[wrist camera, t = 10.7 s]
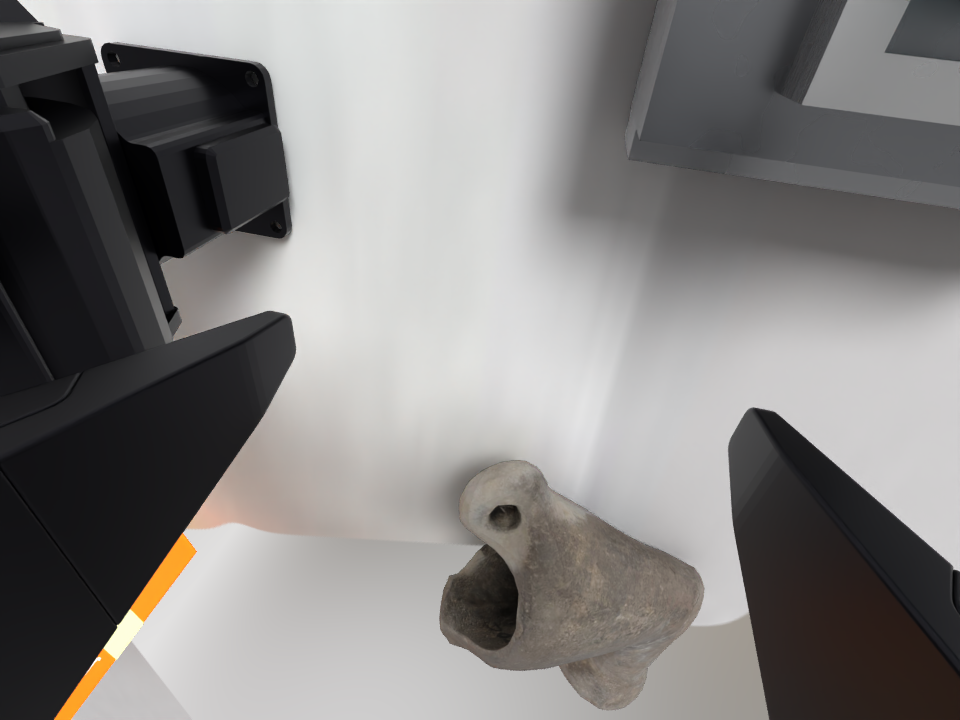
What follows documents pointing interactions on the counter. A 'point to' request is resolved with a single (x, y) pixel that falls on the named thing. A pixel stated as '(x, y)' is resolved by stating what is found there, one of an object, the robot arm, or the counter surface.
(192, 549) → the orange juice
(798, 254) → the counter surface
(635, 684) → the pipe
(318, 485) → the counter surface
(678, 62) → the square aluminium tube flange
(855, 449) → the counter surface
